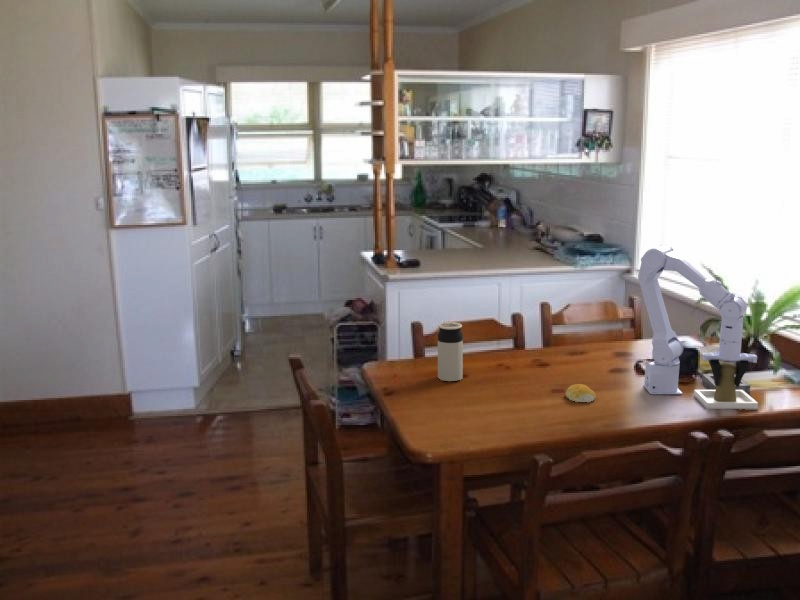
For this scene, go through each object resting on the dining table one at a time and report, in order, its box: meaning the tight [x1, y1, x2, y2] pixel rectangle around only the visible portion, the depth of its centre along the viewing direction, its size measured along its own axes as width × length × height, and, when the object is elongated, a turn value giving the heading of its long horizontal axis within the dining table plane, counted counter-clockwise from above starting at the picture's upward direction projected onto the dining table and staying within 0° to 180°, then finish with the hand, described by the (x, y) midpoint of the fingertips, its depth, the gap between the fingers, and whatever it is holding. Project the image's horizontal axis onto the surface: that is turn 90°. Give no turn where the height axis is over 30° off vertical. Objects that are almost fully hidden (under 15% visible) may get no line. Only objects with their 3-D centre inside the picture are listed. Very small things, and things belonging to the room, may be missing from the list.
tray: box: [693, 389, 759, 411], centre depth 217 cm, size 14×11×2 cm
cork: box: [714, 361, 737, 402], centre depth 217 cm, size 6×6×11 cm
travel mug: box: [437, 321, 464, 381], centre depth 240 cm, size 8×8×18 cm
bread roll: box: [565, 383, 596, 403], centre depth 223 cm, size 8×9×4 cm
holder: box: [701, 373, 751, 394], centre depth 230 cm, size 10×10×2 cm
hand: (726, 385), depth 216 cm, fingers closed on cork, 5 cm apart
